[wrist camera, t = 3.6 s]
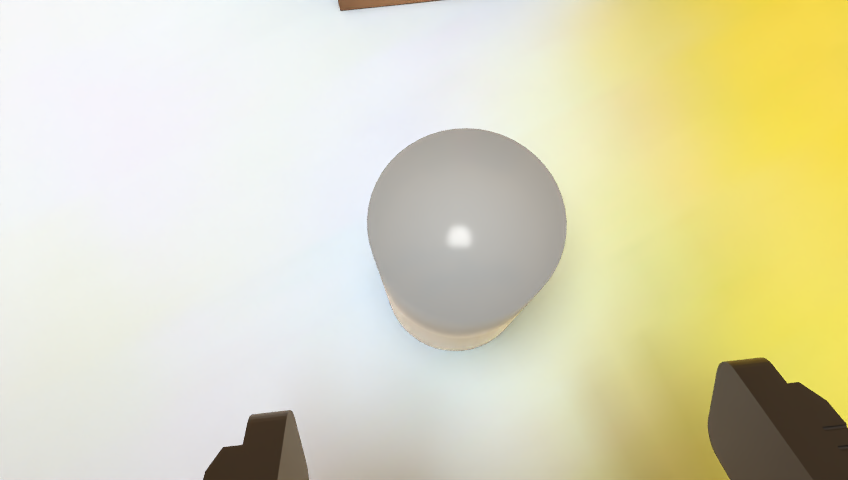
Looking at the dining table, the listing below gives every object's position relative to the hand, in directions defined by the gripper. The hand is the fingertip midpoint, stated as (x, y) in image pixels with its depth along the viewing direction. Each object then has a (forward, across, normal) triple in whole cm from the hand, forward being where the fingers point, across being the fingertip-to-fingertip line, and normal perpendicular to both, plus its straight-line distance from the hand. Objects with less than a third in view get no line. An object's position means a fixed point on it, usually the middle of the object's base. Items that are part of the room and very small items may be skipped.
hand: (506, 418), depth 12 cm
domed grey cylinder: (+10, 0, +3) cm, 10 cm away
